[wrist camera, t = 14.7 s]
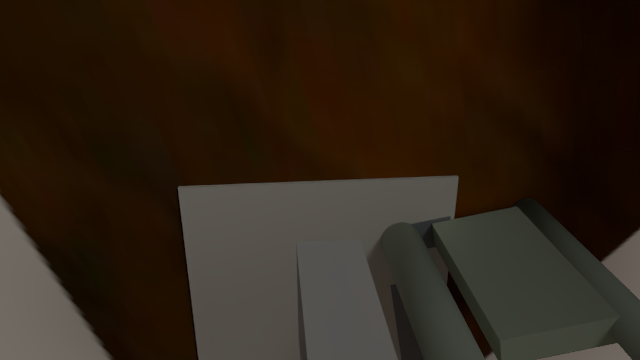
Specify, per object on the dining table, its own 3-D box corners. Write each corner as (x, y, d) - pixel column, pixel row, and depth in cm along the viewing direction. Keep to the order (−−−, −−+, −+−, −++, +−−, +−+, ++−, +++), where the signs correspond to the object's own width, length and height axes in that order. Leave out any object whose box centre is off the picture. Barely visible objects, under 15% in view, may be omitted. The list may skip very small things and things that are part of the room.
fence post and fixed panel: (382, 258, 42) (444, 428, 27) (377, 224, 40) (439, 384, 26) (540, 226, 42) (687, 378, 27) (540, 191, 41) (693, 332, 26)
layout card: (458, 175, 39) (459, 177, 39) (437, 366, 47) (438, 369, 46) (178, 186, 38) (177, 188, 37) (202, 382, 45) (201, 385, 45)
